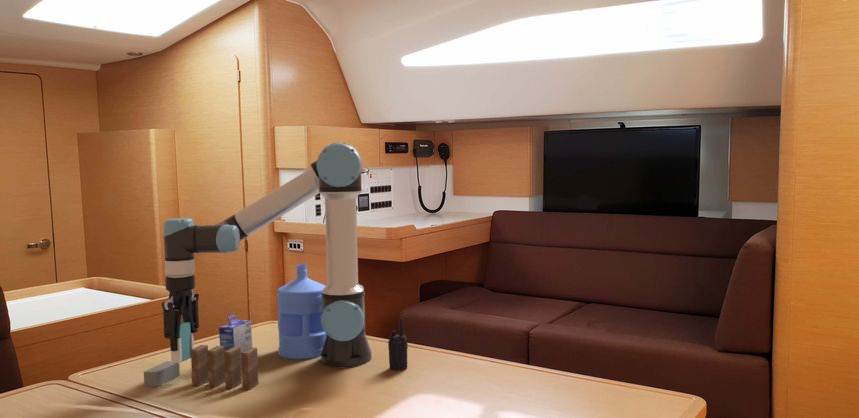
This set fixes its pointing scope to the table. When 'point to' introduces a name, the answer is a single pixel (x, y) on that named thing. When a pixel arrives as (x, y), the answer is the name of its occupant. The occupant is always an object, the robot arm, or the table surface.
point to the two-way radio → (398, 350)
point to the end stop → (161, 374)
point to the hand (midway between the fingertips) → (183, 358)
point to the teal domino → (185, 340)
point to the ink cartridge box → (236, 334)
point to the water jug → (300, 317)
